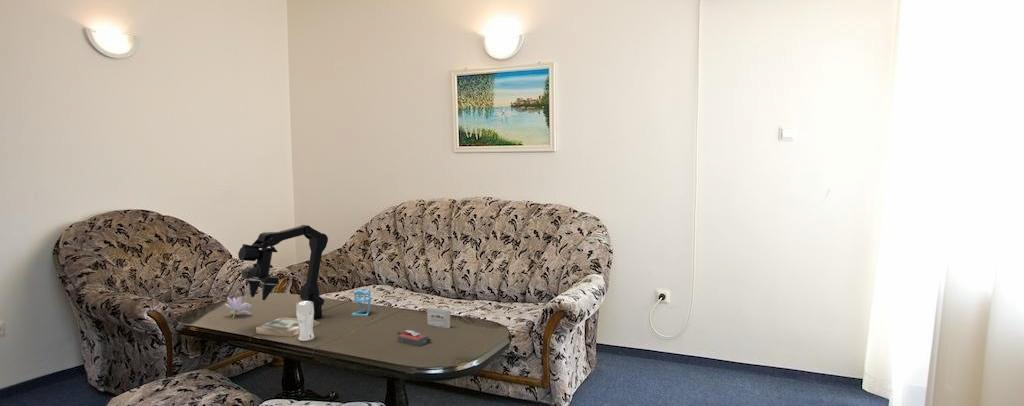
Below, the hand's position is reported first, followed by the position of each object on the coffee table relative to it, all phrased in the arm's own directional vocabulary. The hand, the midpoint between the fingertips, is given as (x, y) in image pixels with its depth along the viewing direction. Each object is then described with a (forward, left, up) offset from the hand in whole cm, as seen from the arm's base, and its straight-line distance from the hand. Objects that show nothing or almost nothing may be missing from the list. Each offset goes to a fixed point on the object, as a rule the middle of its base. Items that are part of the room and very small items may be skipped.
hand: (258, 298), depth 251 cm
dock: (-11, +2, -15) cm, 19 cm away
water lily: (+4, -31, -15) cm, 35 cm away
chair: (-46, -3, -15) cm, 48 cm away
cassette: (-68, +35, -15) cm, 78 cm away
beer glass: (-15, +21, -15) cm, 29 cm away
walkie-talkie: (-50, +46, -15) cm, 69 cm away
